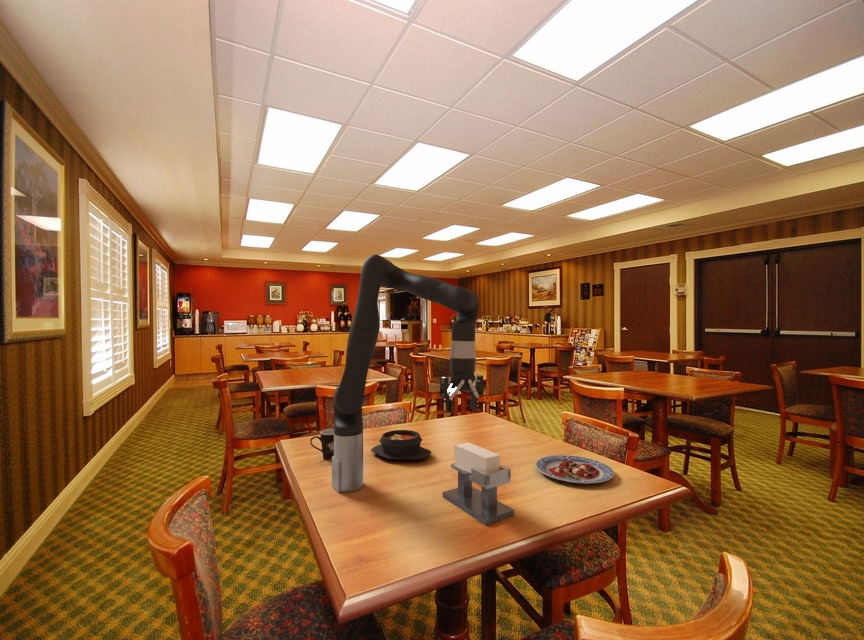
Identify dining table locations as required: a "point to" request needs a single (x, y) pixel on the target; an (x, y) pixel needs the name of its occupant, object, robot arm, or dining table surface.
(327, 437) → the coffee mug
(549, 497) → the dining table surface
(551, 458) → the ceramic plate
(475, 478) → the stand
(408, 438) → the casserole
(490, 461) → the white rectangular block
